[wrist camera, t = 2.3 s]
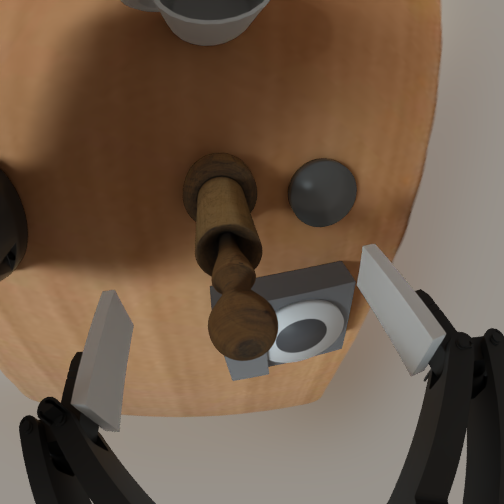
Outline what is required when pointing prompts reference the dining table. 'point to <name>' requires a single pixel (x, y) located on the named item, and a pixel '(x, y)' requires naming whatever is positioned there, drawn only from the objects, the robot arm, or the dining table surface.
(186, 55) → the dining table surface
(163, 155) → the dining table surface
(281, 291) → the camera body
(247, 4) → the cup
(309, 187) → the dark grey dome
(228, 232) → the brown wooden pepper mill
